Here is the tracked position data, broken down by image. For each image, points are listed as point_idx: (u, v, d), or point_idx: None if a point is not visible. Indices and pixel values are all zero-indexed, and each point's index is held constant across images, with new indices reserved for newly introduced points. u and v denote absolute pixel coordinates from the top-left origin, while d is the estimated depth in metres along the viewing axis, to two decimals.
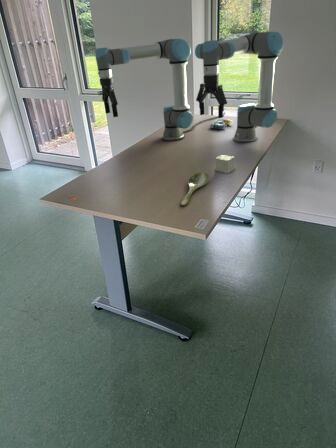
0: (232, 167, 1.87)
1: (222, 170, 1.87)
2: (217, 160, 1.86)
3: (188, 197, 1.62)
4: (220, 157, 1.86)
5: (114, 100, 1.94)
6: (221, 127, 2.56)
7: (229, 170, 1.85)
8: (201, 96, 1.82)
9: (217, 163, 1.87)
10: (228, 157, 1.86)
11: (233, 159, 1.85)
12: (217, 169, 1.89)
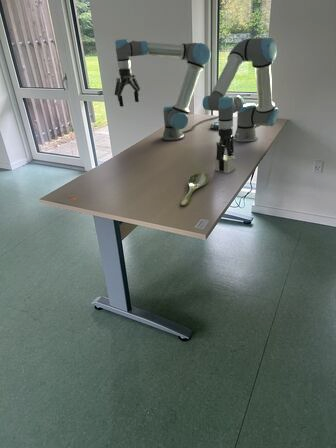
0: (232, 167, 1.87)
1: None
2: (217, 160, 1.86)
3: (188, 197, 1.62)
4: None
5: (116, 90, 2.05)
6: None
7: (229, 170, 1.85)
8: None
9: (217, 163, 1.87)
10: (228, 157, 1.86)
11: (233, 159, 1.85)
12: (217, 169, 1.89)
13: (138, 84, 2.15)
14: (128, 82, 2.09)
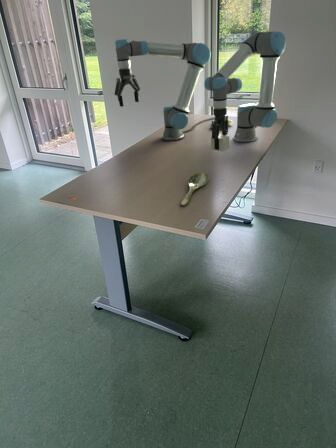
0: (227, 146, 1.96)
1: None
2: (212, 139, 1.95)
3: (188, 197, 1.62)
4: None
5: (116, 90, 2.05)
6: None
7: (224, 148, 1.95)
8: None
9: (212, 142, 1.96)
10: (222, 136, 1.95)
11: (227, 138, 1.94)
12: (213, 148, 1.98)
13: (138, 84, 2.15)
14: (128, 82, 2.09)
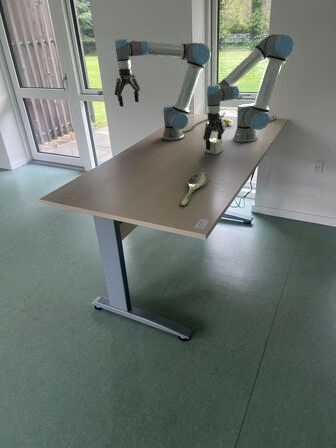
0: (220, 149, 2.14)
1: (211, 151, 2.14)
2: None
3: (188, 197, 1.62)
4: None
5: (116, 90, 2.05)
6: None
7: (217, 151, 2.12)
8: None
9: None
10: (216, 140, 2.13)
11: (221, 142, 2.12)
12: (207, 151, 2.16)
13: (138, 84, 2.15)
14: (128, 82, 2.09)
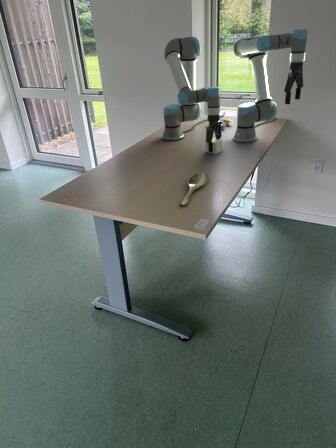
0: (220, 149, 2.14)
1: None
2: (207, 143, 2.13)
3: (188, 197, 1.62)
4: None
5: (207, 138, 2.07)
6: (221, 127, 2.56)
7: (217, 151, 2.12)
8: None
9: (207, 145, 2.14)
10: (216, 140, 2.13)
11: (221, 142, 2.12)
12: (207, 151, 2.16)
13: None
14: (215, 127, 2.08)
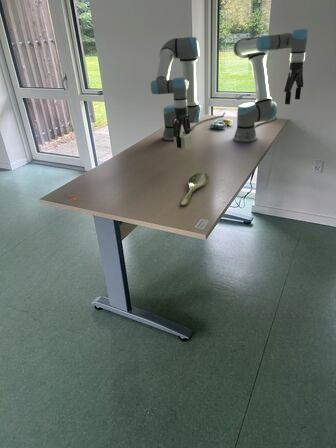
0: (189, 144, 2.02)
1: None
2: (175, 138, 2.01)
3: (188, 197, 1.62)
4: None
5: (174, 133, 1.95)
6: (221, 127, 2.56)
7: (186, 147, 2.00)
8: None
9: (175, 141, 2.02)
10: (185, 134, 2.01)
11: (189, 137, 2.00)
12: (176, 147, 2.04)
13: None
14: (183, 121, 1.96)
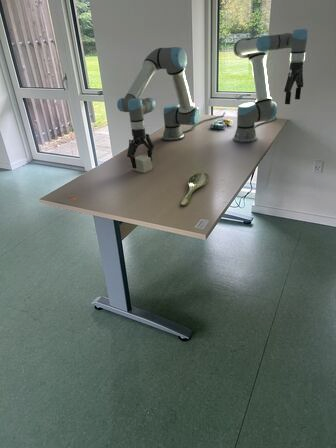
0: (149, 167, 1.97)
1: (139, 170, 1.97)
2: None
3: (188, 197, 1.62)
4: (137, 158, 1.96)
5: (128, 153, 1.87)
6: (221, 127, 2.56)
7: (145, 170, 1.95)
8: None
9: None
10: (144, 157, 1.96)
11: (149, 160, 1.95)
12: (135, 169, 1.99)
13: (152, 143, 1.97)
14: (141, 142, 1.90)
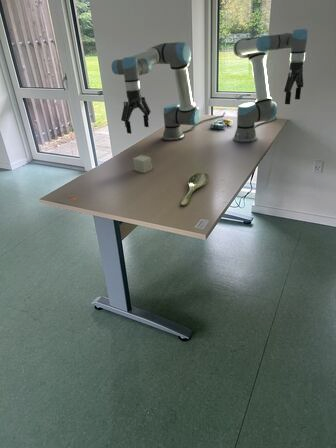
0: (149, 167, 1.97)
1: (139, 170, 1.97)
2: (134, 160, 1.96)
3: (188, 197, 1.62)
4: (137, 158, 1.96)
5: (123, 116, 1.76)
6: (221, 127, 2.56)
7: (145, 170, 1.95)
8: None
9: (134, 163, 1.97)
10: (144, 157, 1.96)
11: (149, 160, 1.95)
12: (135, 170, 1.99)
13: (148, 107, 1.86)
14: (137, 105, 1.80)
